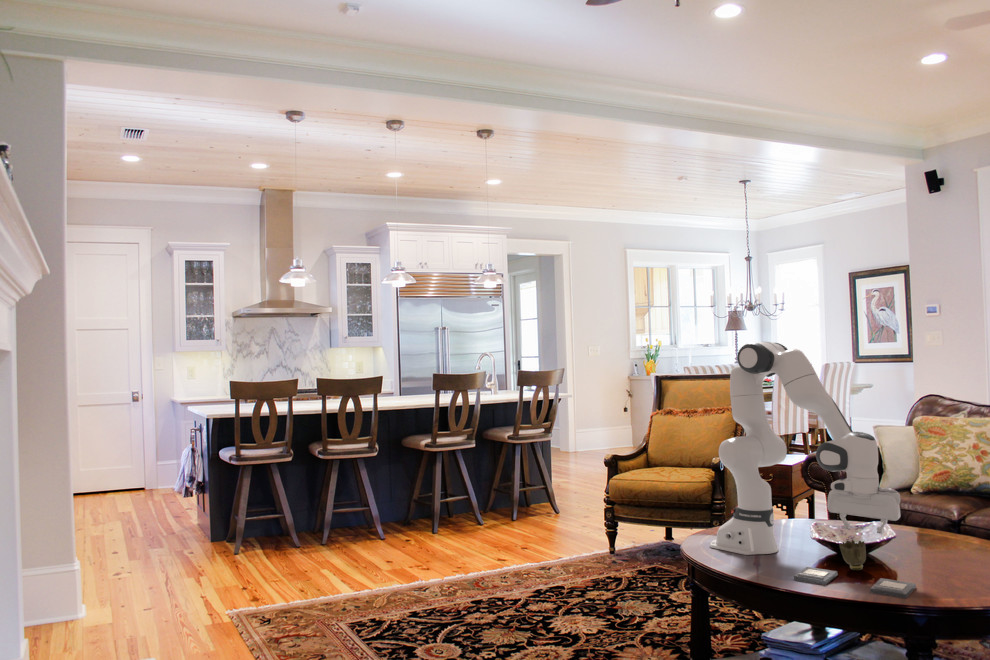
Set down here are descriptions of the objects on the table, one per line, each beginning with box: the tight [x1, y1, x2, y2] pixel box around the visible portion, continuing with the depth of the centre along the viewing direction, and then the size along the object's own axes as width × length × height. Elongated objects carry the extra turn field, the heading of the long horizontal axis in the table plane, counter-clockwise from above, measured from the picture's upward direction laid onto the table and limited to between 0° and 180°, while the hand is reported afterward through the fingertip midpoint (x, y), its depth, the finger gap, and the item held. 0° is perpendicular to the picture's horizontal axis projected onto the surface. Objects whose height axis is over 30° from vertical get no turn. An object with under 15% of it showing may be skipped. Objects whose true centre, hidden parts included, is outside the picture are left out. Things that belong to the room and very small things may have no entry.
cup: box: [838, 540, 867, 571], centre depth 233 cm, size 8×7×8 cm
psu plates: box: [793, 566, 917, 600], centre depth 220 cm, size 30×12×2 cm, turn 50°
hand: (863, 530), depth 232 cm, fingers open, 8 cm apart
